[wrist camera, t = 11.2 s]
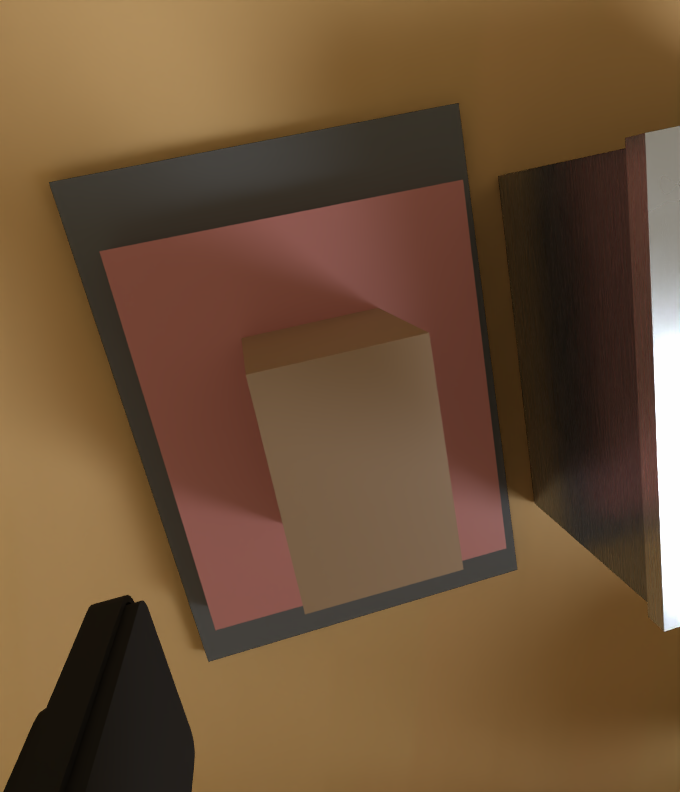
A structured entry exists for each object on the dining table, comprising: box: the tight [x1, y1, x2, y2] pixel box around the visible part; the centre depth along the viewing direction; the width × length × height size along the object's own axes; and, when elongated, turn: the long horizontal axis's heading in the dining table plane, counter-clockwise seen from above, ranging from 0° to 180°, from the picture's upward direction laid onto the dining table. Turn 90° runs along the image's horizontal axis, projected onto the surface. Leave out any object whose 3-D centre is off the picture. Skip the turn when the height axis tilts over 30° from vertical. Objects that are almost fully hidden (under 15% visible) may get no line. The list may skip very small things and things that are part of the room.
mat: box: [49, 103, 517, 662], centre depth 19 cm, size 12×16×1 cm
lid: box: [99, 180, 506, 630], centre depth 16 cm, size 10×12×6 cm
